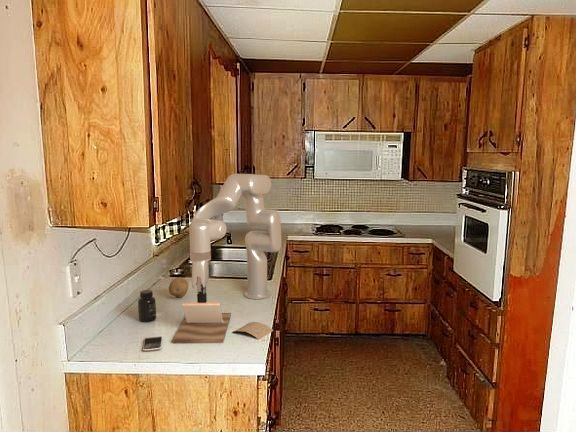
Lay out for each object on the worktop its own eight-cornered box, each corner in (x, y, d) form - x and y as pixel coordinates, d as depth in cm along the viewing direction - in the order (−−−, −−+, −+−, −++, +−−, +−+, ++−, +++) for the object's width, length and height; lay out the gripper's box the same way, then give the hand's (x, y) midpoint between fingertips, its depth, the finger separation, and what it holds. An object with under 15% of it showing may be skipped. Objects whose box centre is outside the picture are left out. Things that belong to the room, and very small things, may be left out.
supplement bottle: (155, 315, 182) (154, 288, 180) (156, 321, 175) (155, 293, 174) (138, 317, 180) (137, 289, 178) (138, 323, 173) (137, 294, 171)
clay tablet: (275, 332, 167) (275, 325, 166) (261, 342, 158) (261, 335, 157) (244, 325, 173) (244, 318, 173) (229, 334, 165) (229, 327, 164)
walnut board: (188, 316, 181) (187, 313, 181) (230, 316, 181) (230, 312, 181) (173, 343, 155) (173, 339, 155) (223, 343, 156) (223, 339, 155)
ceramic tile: (182, 302, 161) (181, 305, 161) (220, 302, 162) (220, 304, 161) (187, 321, 170) (186, 323, 170) (223, 321, 171) (223, 323, 170)
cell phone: (142, 353, 148) (142, 350, 148) (145, 340, 159) (145, 336, 158) (161, 352, 149) (161, 348, 149) (162, 338, 160) (162, 335, 160)
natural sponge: (178, 303, 197) (177, 282, 196) (164, 299, 202) (164, 278, 201) (192, 297, 205) (192, 277, 203) (179, 294, 210) (179, 274, 208)
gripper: (194, 251, 167) (195, 296, 170) (186, 261, 153) (188, 310, 155) (213, 251, 168) (214, 296, 170) (207, 260, 153) (208, 310, 156)
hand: (202, 302), depth 163 cm, fingers closed
